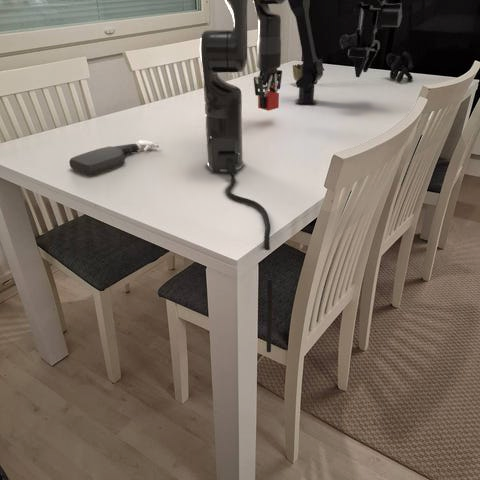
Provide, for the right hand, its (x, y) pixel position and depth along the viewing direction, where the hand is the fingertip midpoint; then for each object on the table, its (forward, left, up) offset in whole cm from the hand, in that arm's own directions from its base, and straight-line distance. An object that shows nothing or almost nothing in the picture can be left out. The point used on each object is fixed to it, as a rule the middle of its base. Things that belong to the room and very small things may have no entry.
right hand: (361, 74), depth 157 cm
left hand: (+18, -33, -6) cm, 38 cm away
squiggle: (-45, +27, -12) cm, 54 cm away
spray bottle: (+51, -75, -12) cm, 91 cm away
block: (+18, -33, -7) cm, 38 cm away
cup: (-37, -19, -12) cm, 43 cm away
